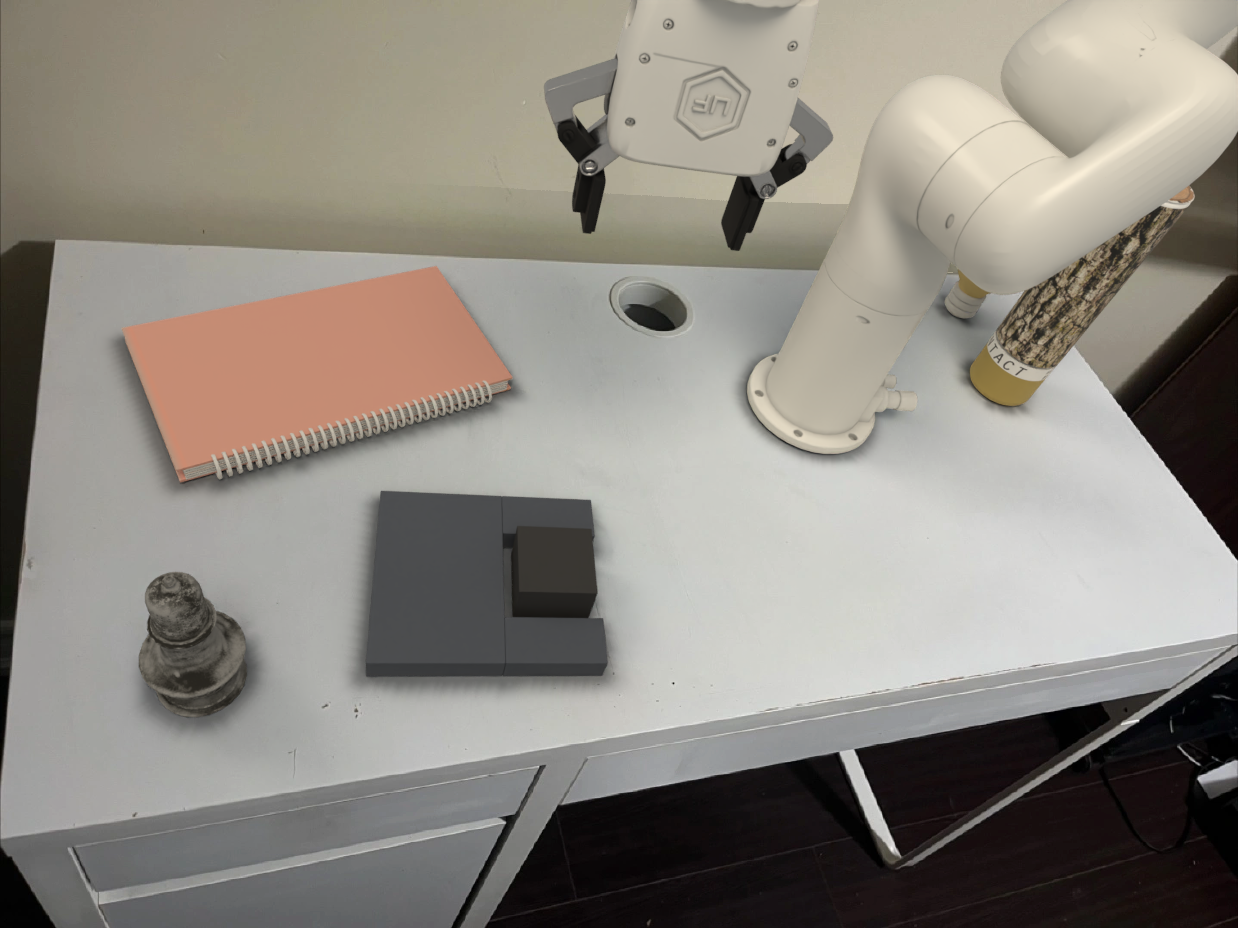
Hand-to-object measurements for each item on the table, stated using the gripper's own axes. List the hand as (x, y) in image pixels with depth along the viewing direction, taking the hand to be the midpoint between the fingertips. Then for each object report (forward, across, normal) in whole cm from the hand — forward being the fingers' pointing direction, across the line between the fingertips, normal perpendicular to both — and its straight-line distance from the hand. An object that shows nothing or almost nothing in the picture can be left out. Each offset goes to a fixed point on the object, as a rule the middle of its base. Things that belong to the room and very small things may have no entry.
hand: (659, 229), depth 56 cm
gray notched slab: (+23, -9, -13) cm, 28 cm away
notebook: (+24, -22, +8) cm, 33 cm away
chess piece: (+24, -27, -20) cm, 41 cm away
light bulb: (+24, +45, +25) cm, 57 cm away
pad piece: (+23, -4, -13) cm, 27 cm away
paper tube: (+24, +45, +13) cm, 52 cm away
